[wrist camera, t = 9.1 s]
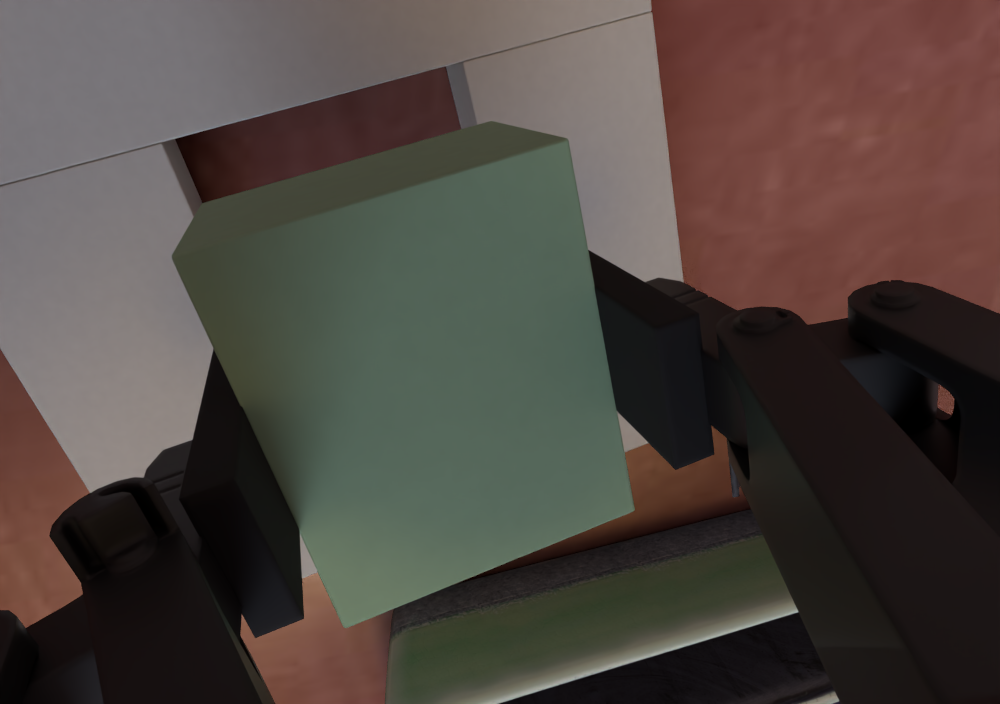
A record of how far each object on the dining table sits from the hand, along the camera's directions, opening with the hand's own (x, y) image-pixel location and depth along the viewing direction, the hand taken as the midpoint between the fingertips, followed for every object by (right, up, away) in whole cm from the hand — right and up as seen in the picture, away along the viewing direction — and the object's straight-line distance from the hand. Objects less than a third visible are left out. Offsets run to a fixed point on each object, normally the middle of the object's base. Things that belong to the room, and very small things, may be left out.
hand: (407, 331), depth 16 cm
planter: (+9, -12, +19) cm, 24 cm away
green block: (0, 0, 0) cm, 0 cm away
